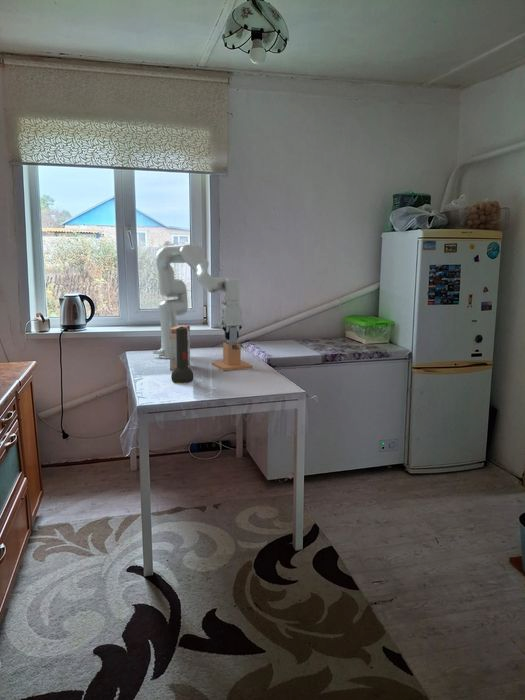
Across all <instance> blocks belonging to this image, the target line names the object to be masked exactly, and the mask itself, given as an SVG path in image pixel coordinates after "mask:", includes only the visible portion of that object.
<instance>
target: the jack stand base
mask: <svg viewBox="0 0 525 700" xmlns="http://www.w3.org/2000/svg"><path fill="white" fill-rule="evenodd" d="M241 346H242V344H241V343H239V342H237V344H230V345H229V344H227V342H223V343H222V360H218V361H217V360H216V361H211V366H213V367H214V368H217V369H218V368H219V369H218V370H220V369H221V370H220V371H222V370H223V371H222V372H226V371H225V370H230V371H237V370H236V369H240V370H249V369H248V368H251V369H253V365H252V364H250V363H248V362H246V361H244V360H242V358H241V349H242V348H241Z"/></svg>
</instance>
